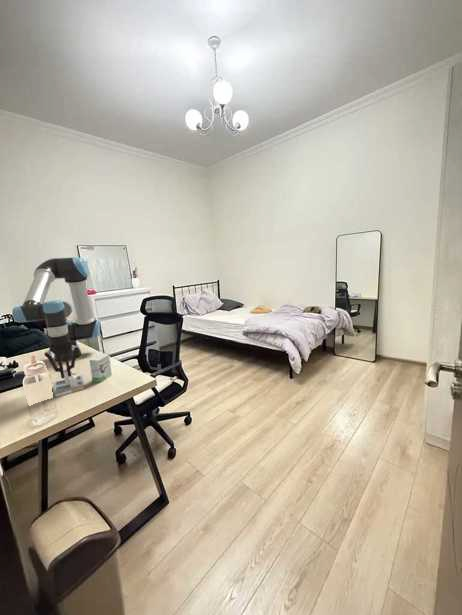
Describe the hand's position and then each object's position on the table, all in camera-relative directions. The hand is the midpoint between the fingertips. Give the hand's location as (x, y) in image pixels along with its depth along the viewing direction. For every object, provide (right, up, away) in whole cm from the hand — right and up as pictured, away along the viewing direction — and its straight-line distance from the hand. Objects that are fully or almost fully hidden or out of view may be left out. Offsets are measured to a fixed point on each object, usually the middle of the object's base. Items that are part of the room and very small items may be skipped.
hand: (67, 383), depth 116 cm
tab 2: (+2, -1, +2) cm, 3 cm away
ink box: (+10, -1, +12) cm, 16 cm away
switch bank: (-2, -3, +4) cm, 5 cm away
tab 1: (-2, -1, +7) cm, 8 cm away
